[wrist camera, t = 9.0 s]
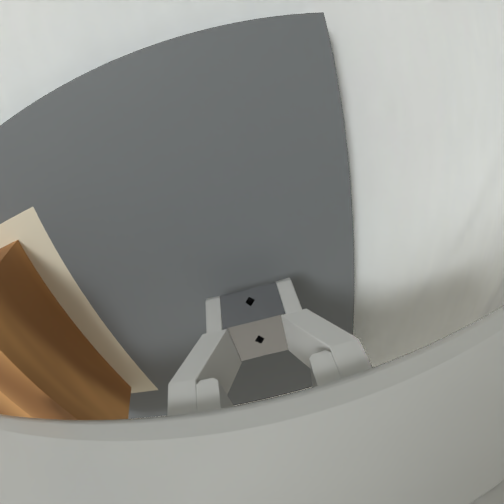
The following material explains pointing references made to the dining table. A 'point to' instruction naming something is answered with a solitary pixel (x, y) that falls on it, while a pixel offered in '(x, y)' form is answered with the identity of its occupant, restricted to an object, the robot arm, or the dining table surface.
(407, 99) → the dining table surface
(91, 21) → the dining table surface
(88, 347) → the t block
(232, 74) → the push board
